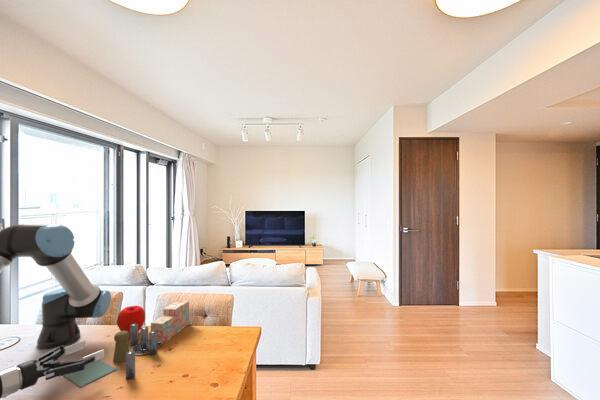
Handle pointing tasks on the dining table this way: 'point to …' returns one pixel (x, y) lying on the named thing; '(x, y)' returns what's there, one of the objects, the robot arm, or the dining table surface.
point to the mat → (90, 373)
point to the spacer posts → (144, 345)
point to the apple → (130, 318)
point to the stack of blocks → (171, 320)
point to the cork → (121, 346)
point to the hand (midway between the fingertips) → (94, 348)
